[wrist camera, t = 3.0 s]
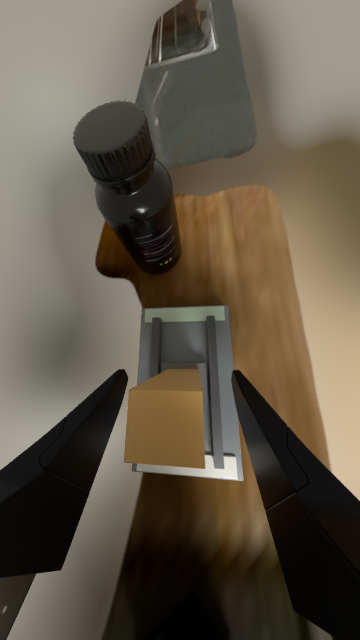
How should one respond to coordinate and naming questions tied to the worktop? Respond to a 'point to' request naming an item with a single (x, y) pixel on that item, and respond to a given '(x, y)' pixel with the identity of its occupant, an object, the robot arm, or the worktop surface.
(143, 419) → the handle
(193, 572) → the worktop surface
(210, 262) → the worktop surface
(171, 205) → the supplement bottle
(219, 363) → the grey rail base
